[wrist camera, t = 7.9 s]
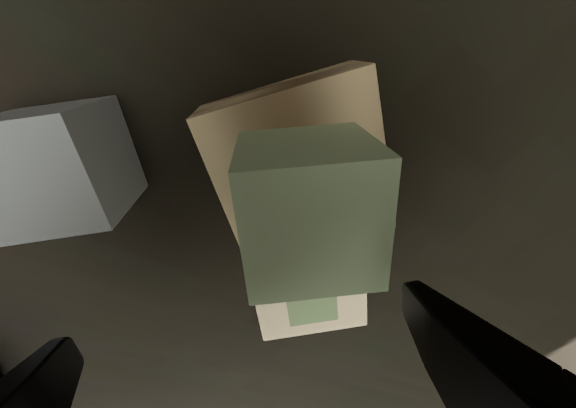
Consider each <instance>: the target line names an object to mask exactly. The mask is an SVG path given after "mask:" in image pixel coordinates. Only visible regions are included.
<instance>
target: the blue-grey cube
mask: <svg viewBox="0 0 576 408" xmlns="http://www.w3.org/2000/svg"><path fill="white" fill-rule="evenodd" d="M147 187H148V183H147V180H146V178H145V175H144V172H143V169H142V166H141V164H140V161H139V158H138V155H137V152H136V150H135V147H134V144H133V141H132V138H131V136H130V133H129V130H128V127H127V124H126V122H125V119H124V116H123V113H122V110H121V108H120V105H119V102H118V99H117V96H116V95H112V96H104V97H97V98H90V99H83V100H75V101H68V102H61V103H54V104H47V105H39V106H32V107H25V108H18V109H13V110H9V111H5V112H0V247H4V246H11V245H18V244H25V243H31V242H38V241H45V240H52V239H59V238H65V237H72V236H79V235H86V234H93V233H100V232H106V231H112V230H113V229H114V228H115V227H116V225H117V224H118V223H119V222H120V221H121V219H122V218H123V217H124V216H125V214H126V213H127V212H128V211H129V209H130V208H131V207H132V206H133V204H134V203H135V202H136V201H137V199H138V198H139V197H140V196H141V194H142V193H143V192H144V191H145V190H146V188H147Z"/></svg>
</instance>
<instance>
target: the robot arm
mask: <svg viewBox="0 0 576 408" xmlns="http://www.w3.org/2000/svg"><path fill="white" fill-rule="evenodd" d="M401 307H402V312H403V315H404V317H405V320H406V322H407V325H408V327H409V329H410V332H411V334H412V337H413V339H414V342H415V344H416V347H417V349H418V352H419V354H420V357H421V359H422V361H423V364H424V366H425V368H426V370H427V372H428V374H429V376H430V378H431V380H432V382H433V384H434V386H435V388H436V390H437V391H438V393H439V395H440V397H441V399H442V401H443V403H444V405H445V407H446V408H576V375H575V374H573V373H571V372H570V371H568V370H566V369H563V370H562V367H561V366H560V365H558V364H556V363H555V362H553V361H551V360H550V359H548V358H546V357H545V356H543V355H541V354H540V353H538V352H536V351H535V350H533V349H532V348H530V347H528V346H527V345H525V344H523V343H522V342H520V341H518V340H517V339H515V338H513V337H512V336H510V335H508V334H507V333H505V332H503V331H502V330H500V329H498V328H497V327H495V326H493V325H492V324H490V323H489V322H487V321H485V320H484V319H482V318H480V317H479V316H477V315H475V314H474V313H472V312H470V311H469V310H467V309H465V308H464V307H462V306H460V305H459V304H457V303H455V302H454V301H452V300H450V299H449V298H447V297H446V296H444V295H442V294H441V293H439V292H437V291H436V290H434V289H432V288H431V287H429V286H427V285H426V284H424V283H422V282H421V281H418V280H415V281H409V282H405V283H403V286H402V300H401ZM83 364H84V360H83V356H82V354H81V353H80V351H79V349H78V348H77V346H76V345H75V343H74V341H73V340H72V339H71V338H70V337H62V338H55V339H52V340H50V341H48V342H47V343H46V344H44V345H43V346H42V347H41V348H39V349H38V350H37V351H35V352H34V353H33V354H31V355H30V356H29V357H28V358H26V359H25V360H24V361H22V362H21V363H20V364H18V365H17V366H16V367H15V368H13V369H12V370H11V371H9V372H8V373H7V374H5V375H4V376H3V377H2V376H1V375H0V408H71V405H72V402H73V398H74V395H75V392H76V388H77V385H78V382H79V378H80V375H81V372H82V369H83Z"/></svg>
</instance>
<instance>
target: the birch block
mask: <svg viewBox="0 0 576 408" xmlns="http://www.w3.org/2000/svg"><path fill="white" fill-rule="evenodd" d="M186 121H187V124H188V126H189V128H190V131H191V133H192V135H193V138H194V140H195V143H196V145H197V147H198V150H199V152H200V154H201V157H202V159H203V162H204V164H205V166H206V169H207V171H208V173H209V176H210V178H211V181H212V183H213V185H214V188H215V190H216V193H217V195H218V197H219V200H220V202H221V204H222V207H223V209H224V212H225V214H226V216H227V219H228V221H229V223H230V226H231V228H232V231H233V233H234V235H235V238H236V240H237V242H238V245H239V239H238V233H237V227H236V221H235V215H234V208H233V202H232V196H231V190H230V184H229V177H228V171H229V167H230V163H231V159H232V156H233V152H234V148H235V144H236V140H237V137H238V133H239V132H241V131H253V130H265V129H277V128H289V127H301V126H313V125H325V124H337V123H349V122H356V123H357V124H358V125H359V126H361V127H362V128H363V129H365V130H366V131H367V132H369V133H370V134H371V135H373V136H374V137H375V138H377V139H378V140H379V141H381V142H382V143H383V144H385V145H386V143H385V135H384V127H383V119H382V112H381V104H380V96H379V88H378V80H377V72H376V64H375V63H370V62H363V61H355V60H349V61H346V62H343V63H339V64H336V65H333V66H329V67H326V68H323V69H319V70H316V71H313V72H309V73H306V74H303V75H299V76H296V77H293V78H289V79H286V80H283V81H279V82H276V83H273V84H270V85H266V86H263V87H260V88H256V89H253V90H250V91H246V92H243V93H240V94H236V95H233V96H230V97H226V98H223V99H220V100H216V101H213V102H210V103H206V104H203V105H200V106H199V107H198V108H197V109H196V110H195V111H194V112H193V113H192V114H191V115H190V116H189V117H188V118H187V119H186ZM395 227H396V222H395ZM239 247H240V246H239Z"/></svg>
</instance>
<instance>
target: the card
mask: <svg viewBox="0 0 576 408" xmlns="http://www.w3.org/2000/svg"><path fill="white" fill-rule="evenodd" d="M255 307H256V311H257V315H258V320H259V324H260V328H261V333H262V337H263V341H268V340H274V339H281V338H287V337H294V336H300V335H307V334H313V333H320V332H326V331H333V330H339V329H346V328H352V327H359V326H365V325H367V293H366V294H357V295H347V296H338V297H329V298H319V299H310V300H301V301H291V302H282V303H273V304H263V305H255Z"/></svg>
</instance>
